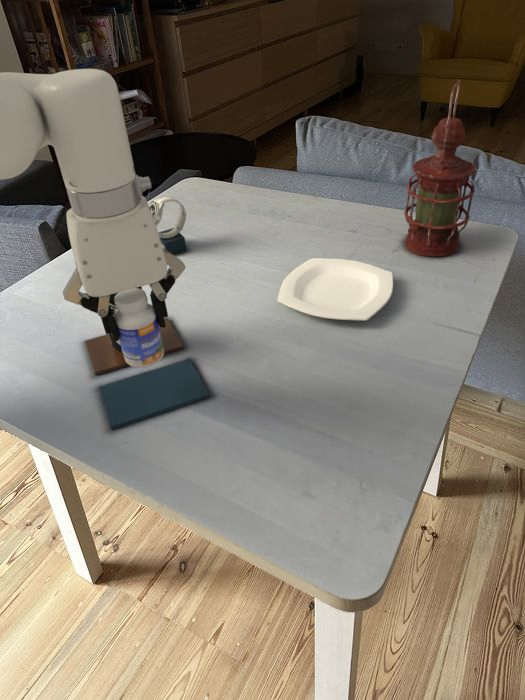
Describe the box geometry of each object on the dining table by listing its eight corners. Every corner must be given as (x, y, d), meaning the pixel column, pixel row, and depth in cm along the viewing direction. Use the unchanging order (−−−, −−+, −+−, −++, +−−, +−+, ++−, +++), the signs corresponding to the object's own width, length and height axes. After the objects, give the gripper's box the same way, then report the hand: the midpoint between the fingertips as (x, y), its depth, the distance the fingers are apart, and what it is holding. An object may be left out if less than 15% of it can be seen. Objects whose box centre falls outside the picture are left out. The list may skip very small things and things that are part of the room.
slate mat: (111, 429, 72) (110, 426, 72) (99, 389, 79) (98, 386, 78) (209, 397, 76) (209, 393, 76) (190, 361, 83) (189, 358, 82)
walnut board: (95, 375, 81) (94, 372, 81) (85, 343, 88) (84, 340, 87) (183, 348, 85) (183, 345, 85) (168, 320, 92) (167, 317, 91)
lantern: (408, 227, 114) (427, 72, 95) (467, 236, 110) (500, 74, 91) (393, 254, 106) (411, 89, 87) (457, 264, 101) (491, 92, 82)
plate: (264, 313, 92) (263, 303, 91) (306, 261, 105) (306, 252, 104) (373, 337, 85) (374, 327, 84) (403, 278, 98) (404, 269, 97)
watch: (149, 249, 113) (139, 199, 106) (184, 238, 116) (176, 189, 109) (158, 259, 109) (148, 208, 102) (194, 249, 112) (187, 198, 105)
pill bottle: (152, 372, 70) (137, 311, 64) (117, 365, 72) (99, 304, 66) (171, 347, 74) (159, 288, 68) (138, 341, 76) (123, 282, 70)
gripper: (170, 170, 64) (191, 297, 75) (21, 201, 59) (67, 332, 71) (189, 191, 59) (208, 325, 70) (27, 226, 54) (76, 364, 65)
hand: (137, 327), depth 70 cm, fingers closed on pill bottle, 5 cm apart
